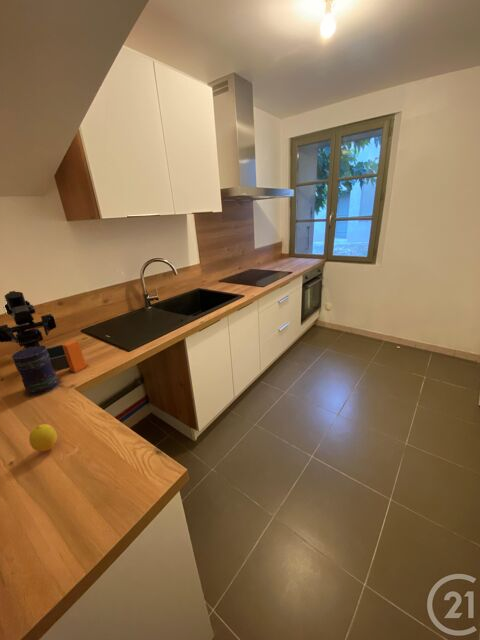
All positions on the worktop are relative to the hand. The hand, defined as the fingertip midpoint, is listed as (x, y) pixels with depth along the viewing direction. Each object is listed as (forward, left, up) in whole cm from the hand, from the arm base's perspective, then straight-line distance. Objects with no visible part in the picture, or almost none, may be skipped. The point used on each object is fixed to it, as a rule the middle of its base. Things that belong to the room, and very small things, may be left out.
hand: (32, 338), depth 100 cm
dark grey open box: (-7, +5, -16) cm, 18 cm away
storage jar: (+11, -1, -16) cm, 20 cm away
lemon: (+48, +1, -16) cm, 51 cm away
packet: (+4, +11, -16) cm, 20 cm away
